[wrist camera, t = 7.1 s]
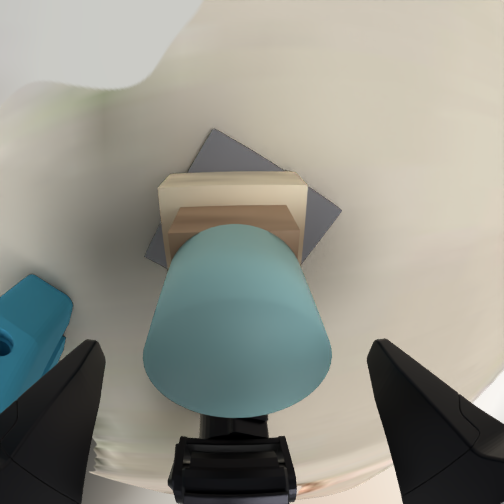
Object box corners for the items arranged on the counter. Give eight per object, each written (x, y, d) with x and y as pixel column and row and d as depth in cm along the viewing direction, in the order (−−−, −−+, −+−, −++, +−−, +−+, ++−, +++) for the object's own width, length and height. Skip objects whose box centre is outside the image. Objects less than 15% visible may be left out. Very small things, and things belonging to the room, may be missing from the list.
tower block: (280, 292, 16) (289, 328, 13) (189, 294, 16) (182, 331, 13) (286, 205, 14) (300, 230, 11) (180, 207, 13) (167, 233, 11)
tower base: (287, 277, 19) (296, 305, 16) (181, 280, 19) (174, 308, 16) (294, 171, 16) (307, 185, 13) (170, 174, 15) (157, 188, 13)
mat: (260, 307, 21) (261, 313, 20) (146, 252, 18) (143, 256, 18) (338, 207, 18) (342, 210, 17) (214, 128, 15) (213, 128, 14)
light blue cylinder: (305, 324, 13) (328, 402, 9) (189, 342, 13) (180, 422, 9) (295, 212, 11) (332, 278, 7) (149, 238, 11) (111, 314, 7)
